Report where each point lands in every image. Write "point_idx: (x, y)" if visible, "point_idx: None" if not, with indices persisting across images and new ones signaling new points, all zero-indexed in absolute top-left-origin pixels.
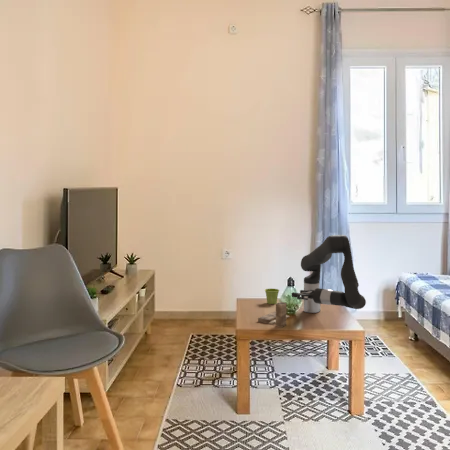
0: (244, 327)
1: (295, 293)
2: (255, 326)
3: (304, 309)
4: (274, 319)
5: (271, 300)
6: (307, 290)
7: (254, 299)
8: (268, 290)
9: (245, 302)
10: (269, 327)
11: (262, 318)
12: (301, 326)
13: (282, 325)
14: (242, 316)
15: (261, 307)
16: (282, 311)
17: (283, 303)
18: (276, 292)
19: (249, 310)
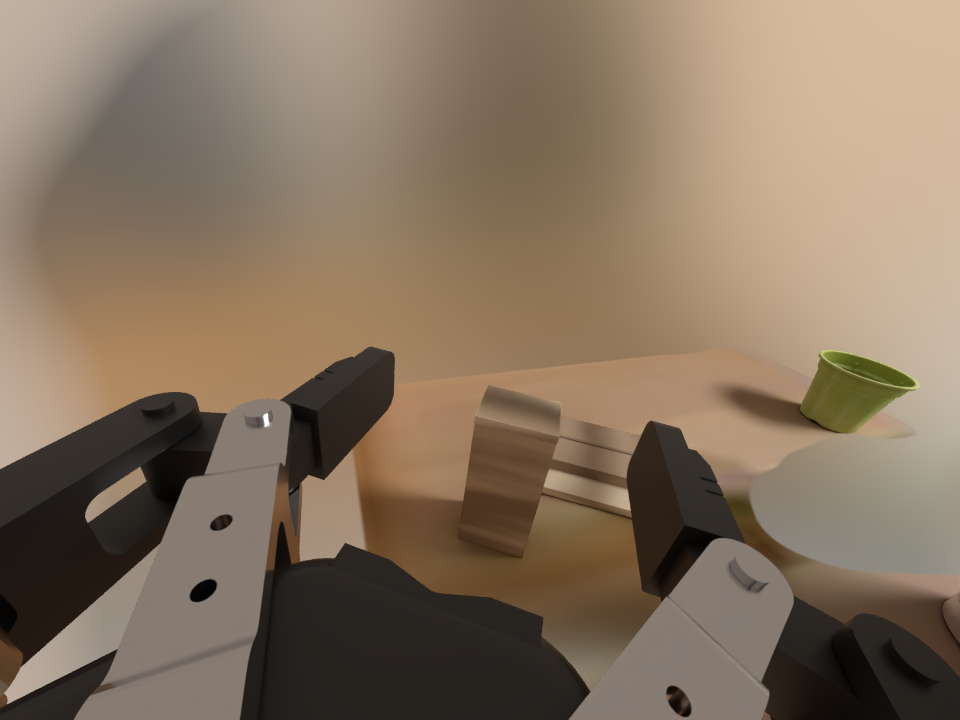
0: (399, 394)
1: (328, 383)
2: (427, 423)
3: (954, 602)
4: (564, 470)
5: (819, 406)
6: (730, 549)
7: (788, 371)
8: (855, 363)
9: (724, 359)
10: (428, 477)
11: None
12: None
13: (471, 537)
14: (553, 372)
15: (725, 400)
16: (483, 465)
17: (522, 422)
18: (874, 387)
19: (646, 377)
